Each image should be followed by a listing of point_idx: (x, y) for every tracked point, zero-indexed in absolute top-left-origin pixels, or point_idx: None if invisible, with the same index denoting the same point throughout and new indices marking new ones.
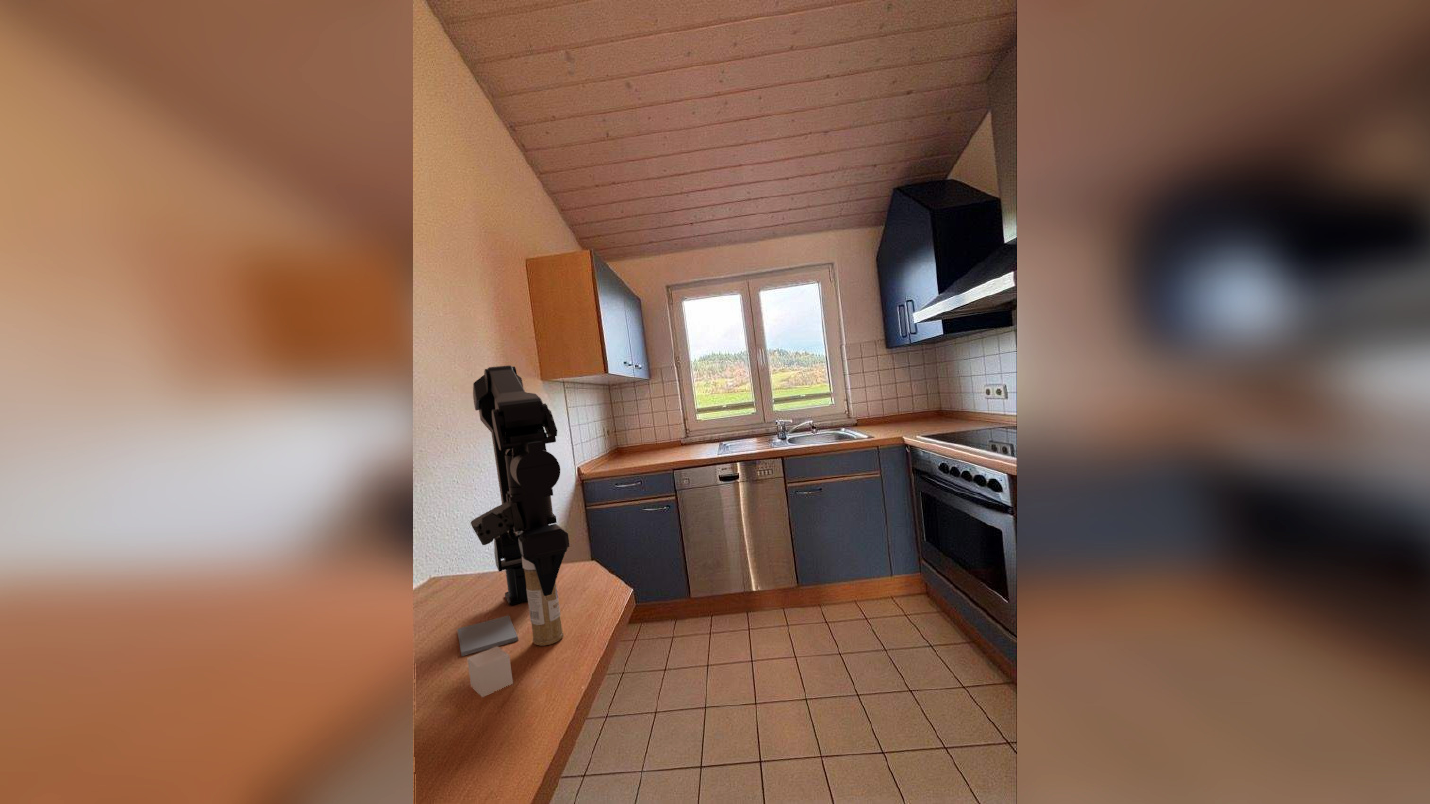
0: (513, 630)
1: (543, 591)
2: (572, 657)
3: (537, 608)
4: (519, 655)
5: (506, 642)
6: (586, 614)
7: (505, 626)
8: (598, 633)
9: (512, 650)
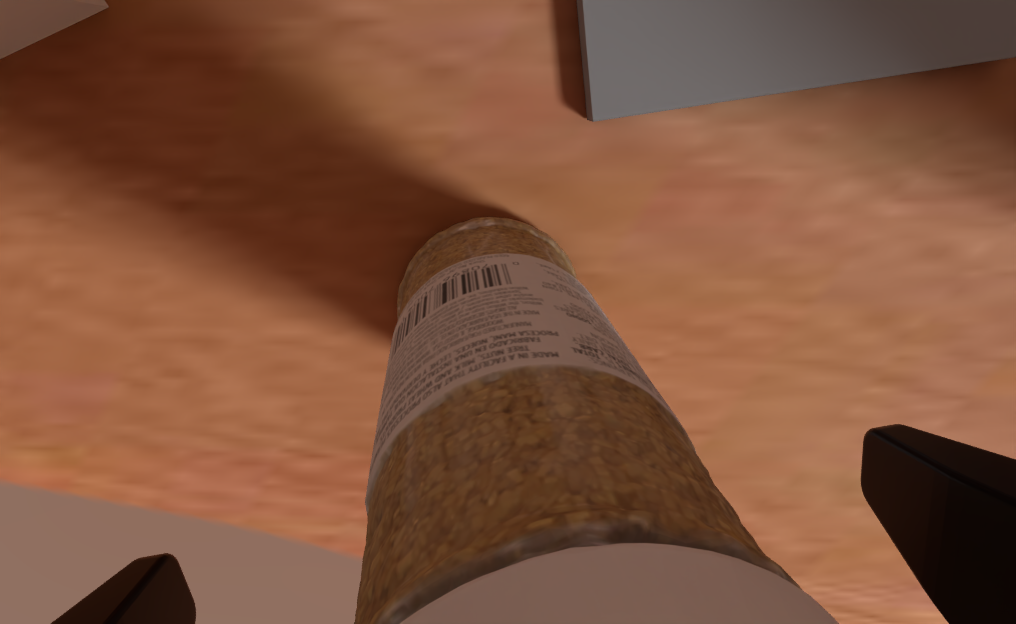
0: (719, 91)
1: (84, 603)
2: (180, 419)
3: (390, 369)
4: (348, 128)
5: (580, 40)
6: None
7: (831, 31)
8: None
9: (451, 82)
